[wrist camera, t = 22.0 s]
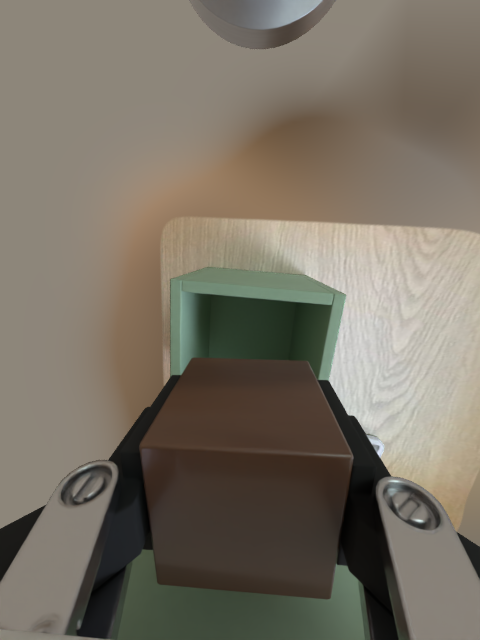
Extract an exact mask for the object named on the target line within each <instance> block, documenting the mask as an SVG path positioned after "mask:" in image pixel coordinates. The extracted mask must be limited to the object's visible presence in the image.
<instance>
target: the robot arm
mask: <svg viewBox="0 0 480 640" xmlns="http://www.w3.org/2000/svg"><path fill="white" fill-rule="evenodd" d="M180 377H181V375H172V376H171V377H170V379H169V380H168V382H167V383H166V385H165V386H164V388H163V389H162V391H161V392H160V394H159V395H158V397H157V398H156V399H155V401H154V402H153V404H152V405H151V407H147V408H145V409H144V411H143V412H142V413H141V415H140V417H139V418H138V419H137V420H136V422H135V423H134V425H133V426H132V428H131V429H130V430H129V432H128V433H127V435H126V436H125V437H124V439H123V440H122V441H121V443H120V444H119V446H118V447H117V449H116V450H115V451H114V453H113V454H112V456H111V457H110V458H109V460H97V461H92V462H89V463H86V464H84V465H82V466H80V467H78V468H77V469H75V470H73V471H72V472H71V473H69V474H68V475H67V476H66V477H65V478H64V479H63V480H62V481H61V482H60V483H59V485H58V486H57V487H56V489H55V491H54V492H53V494H52V496H51V497H50V499H49V501H48V502H47V504H46V505H45V506H43V507H41V508H39V509H37V510H35V511H33V512H31V513H30V514H28V515H26V516H24V517H22V518H20V519H18V520H16V521H14V522H13V523H10V524H9V525H7V526H5V527H3V528H1V529H0V640H117V637H118V632H119V627H120V622H121V617H122V613H123V608H124V603H125V598H126V593H127V588H128V583H129V578H130V573H131V568H132V561H133V560H134V559H135V558H136V557H137V556H139V555H140V554H141V552H142V549H143V550H153V547H152V539H151V532H150V525H149V517H148V510H147V502H146V495H145V487H144V480H143V472H142V465H141V458H140V450H139V445H140V442H141V441H142V439H143V437H144V436H145V434H146V433H147V431H148V429H149V428H150V426H151V424H152V423H153V421H154V419H155V418H156V416H157V414H158V413H159V411H160V409H161V408H162V406H163V405H164V403H165V401H166V400H167V398H168V396H169V395H170V393H171V391H172V390H173V388H174V386H175V385H176V383H177V381H178V380H179V378H180ZM317 381H318V383H319V385H320V387H321V389H322V391H323V393H324V395H325V397H326V400H327V402H328V404H329V406H330V408H331V410H332V412H333V414H334V416H335V418H336V420H337V423H338V425H339V427H340V429H341V431H342V433H343V435H344V437H345V439H346V441H347V443H348V446H349V448H350V450H351V452H352V454H353V464H352V471H351V477H350V483H349V489H348V495H347V502H346V508H345V514H344V520H343V526H342V532H341V539H340V545H339V551H338V557H337V565H343V566H348V570H349V572H351V573H352V574H353V575H354V576H355V577H356V578H357V579H358V585H359V594H360V602H361V610H362V619H363V627H364V635H365V640H480V547H479V546H477V545H476V544H474V543H473V542H471V541H469V540H468V539H467V538H465V537H464V536H462V535H460V534H459V533H457V532H456V531H455V529H454V527H453V525H452V523H451V521H450V519H449V516H448V514H447V513H446V511H445V510H444V508H443V506H442V505H441V503H440V502H439V501H438V500H437V499H436V498H435V497H434V496H433V495H432V494H431V493H429V492H428V491H427V490H425V489H424V488H423V487H421V486H419V485H417V484H416V483H414V482H412V481H409V480H406V479H404V478H400V477H392V476H391V475H390V474H389V472H388V470H387V469H386V467H385V465H384V464H383V462H382V460H381V459H380V457H379V455H378V454H377V452H376V450H375V449H374V447H373V445H372V444H371V442H370V440H369V439H368V437H367V435H366V434H365V432H364V430H363V429H362V427H361V425H360V424H359V422H358V420H357V419H356V418H355V417H354V416H349V415H348V414H347V413H346V411H345V409H344V407H343V405H342V404H341V402H340V400H339V398H338V397H337V395H336V393H335V391H334V389H333V388H332V386H331V384H330V382H329V381H328V380H317Z"/></svg>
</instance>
